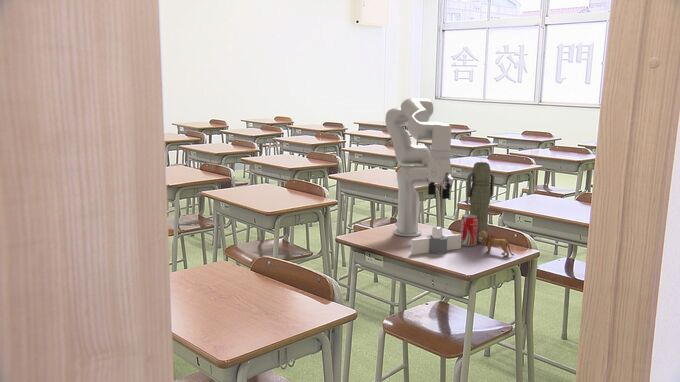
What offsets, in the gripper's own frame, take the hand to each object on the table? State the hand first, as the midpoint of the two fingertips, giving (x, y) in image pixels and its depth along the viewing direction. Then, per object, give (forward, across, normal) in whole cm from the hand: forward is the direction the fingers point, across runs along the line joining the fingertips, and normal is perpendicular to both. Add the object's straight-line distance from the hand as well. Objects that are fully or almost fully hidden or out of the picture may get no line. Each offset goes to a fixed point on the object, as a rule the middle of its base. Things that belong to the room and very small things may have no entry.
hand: (438, 196), depth 231 cm
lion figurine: (+23, +13, +19) cm, 33 cm away
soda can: (+23, -2, +18) cm, 30 cm away
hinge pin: (+23, 0, 0) cm, 23 cm away
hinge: (+23, 0, 0) cm, 23 cm away
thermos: (+23, -6, +26) cm, 36 cm away
